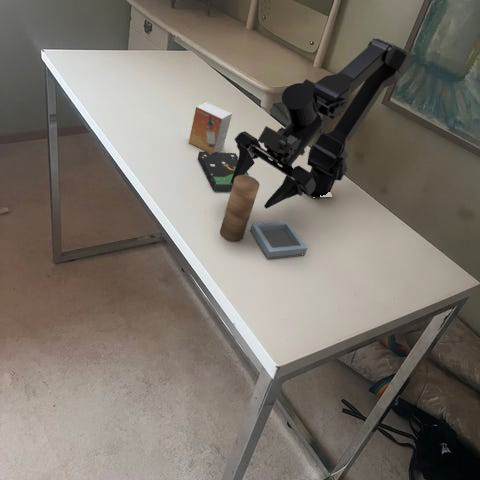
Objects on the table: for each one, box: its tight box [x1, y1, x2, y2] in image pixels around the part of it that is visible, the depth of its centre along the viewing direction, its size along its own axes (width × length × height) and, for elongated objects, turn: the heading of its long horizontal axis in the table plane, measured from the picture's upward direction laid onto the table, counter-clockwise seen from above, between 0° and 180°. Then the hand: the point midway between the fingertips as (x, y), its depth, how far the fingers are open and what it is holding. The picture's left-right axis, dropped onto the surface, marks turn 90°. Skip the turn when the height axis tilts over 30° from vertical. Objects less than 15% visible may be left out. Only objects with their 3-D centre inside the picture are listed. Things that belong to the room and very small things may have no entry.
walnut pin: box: [219, 175, 260, 242], centre depth 92 cm, size 5×5×13 cm
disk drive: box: [197, 151, 250, 193], centre depth 113 cm, size 10×3×15 cm
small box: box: [188, 101, 233, 154], centre depth 120 cm, size 8×6×10 cm
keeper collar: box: [249, 220, 308, 260], centre depth 97 cm, size 9×9×2 cm
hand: (248, 195), depth 92 cm, fingers open, 9 cm apart
